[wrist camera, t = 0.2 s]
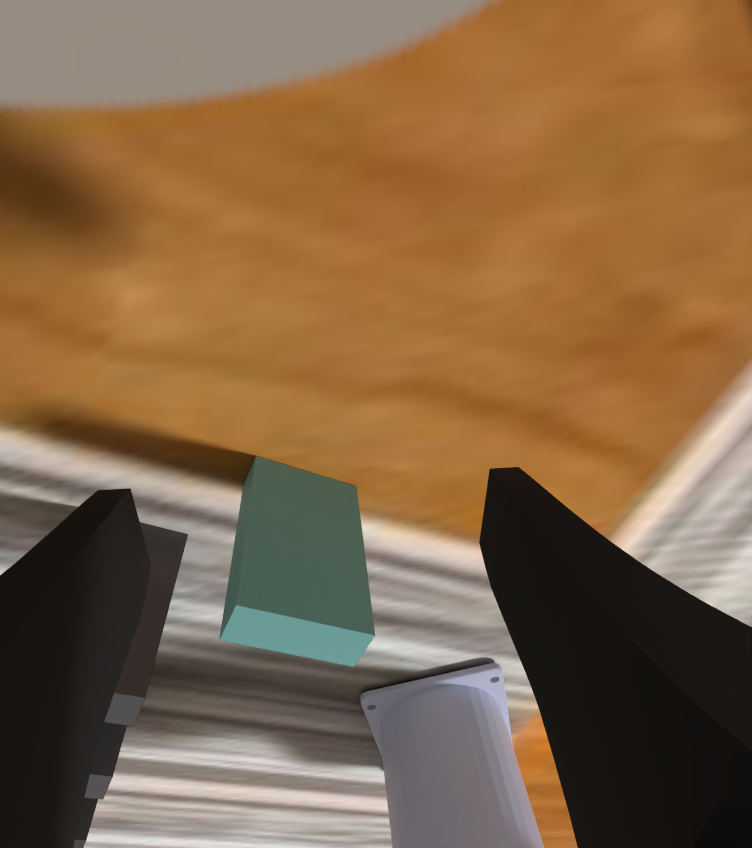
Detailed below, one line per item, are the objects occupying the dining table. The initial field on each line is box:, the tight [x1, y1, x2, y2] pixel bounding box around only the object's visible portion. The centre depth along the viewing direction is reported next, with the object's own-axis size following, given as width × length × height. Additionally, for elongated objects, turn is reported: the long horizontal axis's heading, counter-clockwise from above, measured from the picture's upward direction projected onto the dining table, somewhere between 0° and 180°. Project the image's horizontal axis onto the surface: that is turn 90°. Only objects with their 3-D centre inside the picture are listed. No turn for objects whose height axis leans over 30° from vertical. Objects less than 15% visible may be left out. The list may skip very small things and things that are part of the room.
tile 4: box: [104, 523, 188, 726], centre depth 20 cm, size 2×4×8 cm, turn 65°
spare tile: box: [219, 456, 375, 667], centre depth 20 cm, size 2×4×8 cm, turn 65°
